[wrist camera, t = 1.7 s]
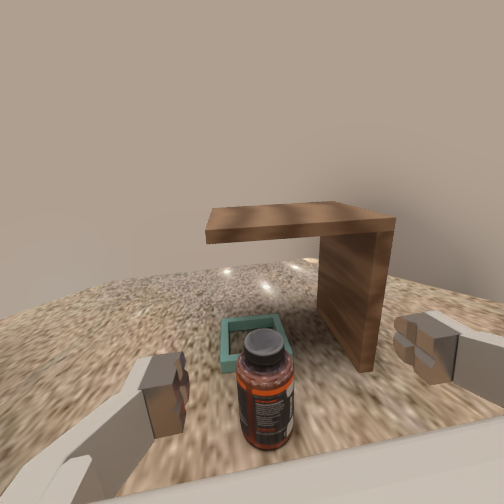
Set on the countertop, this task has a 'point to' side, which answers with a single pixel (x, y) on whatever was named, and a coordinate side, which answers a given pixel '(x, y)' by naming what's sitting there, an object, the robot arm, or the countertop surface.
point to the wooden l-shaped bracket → (327, 261)
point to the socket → (246, 323)
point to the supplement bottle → (265, 389)
